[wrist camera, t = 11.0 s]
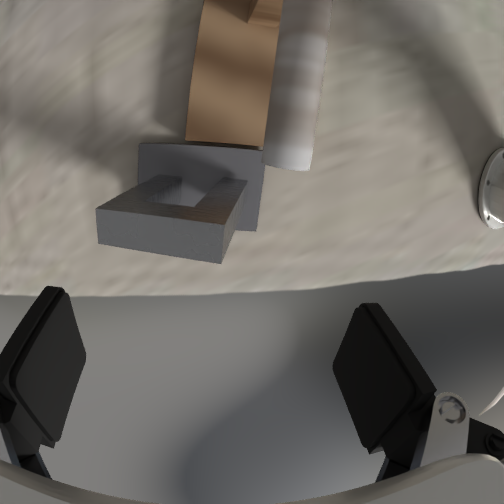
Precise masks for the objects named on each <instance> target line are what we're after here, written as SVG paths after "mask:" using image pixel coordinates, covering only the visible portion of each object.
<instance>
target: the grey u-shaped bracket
mask: <svg viewBox="0 0 504 504" xmlns="http://www.w3.org/2000/svg"><path fill="white" fill-rule="evenodd" d="M247 187H248V180H241V179H233V178H225V177H223V178H222V179H221V180H220V181H219V182H218V183H217V184H216V185H215V186H214V187H213V188H212V189H211V190H210V191H209V192H208V193H207V194H206V195H205V196H204V197H203V198H202V199H201V200H200V201H199V202H198V203H197V204H196V205H195V207H191V206H183V205H178V204H179V203H180V202H181V193H182V177H180V176H170V175H156V176H155V177H153V178H151V179H149V180H147V181H145V182H143V183H141V184H139V185H137V186H135V187H133V188H131V189H129V190H128V191H126V192H124V193H122V194H120V195H118V196H117V197H115V198H113V199H111V200H110V201H108V202H106V203H104V204H103V205H101V206H99V207H97V208H96V222H97V233H98V243H99V244H104V245H109V246H115V247H121V248H127V249H132V250H138V251H144V252H150V253H156V254H162V255H168V256H174V257H180V258H187V259H193V260H199V261H205V262H212V263H218V264H221V263H222V261H223V258H224V256H225V253H226V251H227V248H228V246H229V243H230V241H231V238H232V236H233V234H234V231H235V229H236V226H237V224H238V221H239V219H240V216H241V214H242V212H243V209H244V207H245V203H246V195H247Z"/></svg>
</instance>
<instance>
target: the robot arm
mask: <svg viewBox="0 0 504 504" xmlns="http://www.w3.org/2000/svg"><path fill="white" fill-rule="evenodd" d="M478 203H479V212H480V216H481V219H482V220H483V222H484V223H485V224H486V225H487V226H488V227H490V228H491V229H500V228H502V227H503V226H504V148H500V149H498V150H496V151H495V152H494V153H493V154H492V155H491V157H490V158H489V160H488V162H487V164H486V166H485V168H484V171H483V173H482V177H481V181H480V187H479V196H478ZM85 362H86V352H85V348H84V346H83V343H82V339H81V336H80V333H79V330H78V326H77V323H76V320H75V316H74V313H73V309H72V305H71V301H70V297H69V295H68V293H65V290H64V289H63V288H61V287H53V286H46V287H45V288H44V290H43V291H42V292H41V294H40V295H39V296H38V298H37V299H36V301H35V302H34V303H33V305H32V306H31V308H30V309H29V310H28V312H27V314H26V315H25V316H24V318H23V319H22V321H21V322H20V324H19V325H18V327H17V328H16V330H15V331H14V333H13V334H12V336H11V338H10V339H9V341H8V343H7V344H6V346H5V347H4V349H3V351H2V352H1V354H0V504H157V503H149V502H141V501H136V500H130V499H124V498H119V497H114V496H109V495H105V494H100V493H96V492H92V491H88V490H85V489H81V488H77V487H74V486H71V485H68V484H64V483H61V482H58V481H55V480H52V478H51V476H50V474H49V472H48V470H47V468H46V466H45V464H44V462H43V460H42V457H41V455H40V453H39V447H40V444H42V445H45V446H48V447H51V448H54V446H55V442H57V441H59V440H60V438H61V435H62V431H63V428H64V424H65V421H66V418H67V414H68V411H69V407H70V405H71V402H72V398H73V395H74V393H75V390H76V387H77V384H78V381H79V378H80V375H81V372H82V370H83V367H84V365H85ZM333 372H334V375H335V377H336V379H337V382H338V385H339V387H340V390H341V392H342V395H343V397H344V400H345V402H346V405H347V407H348V410H349V412H350V415H351V418H352V420H353V422H354V425H355V428H356V430H357V433H358V436H359V438H360V441H361V443H362V445H363V447H365V448H367V450H368V452H369V454H373V453H376V452H379V451H383V450H384V452H385V455H386V456H385V459H384V462H383V465H382V467H381V469H380V471H379V474H378V476H377V479H376V481H375V483H373V484H369V485H366V486H363V487H359V488H356V489H352V490H348V491H344V492H340V493H336V494H331V495H327V496H322V497H317V498H311V499H306V500H299V501H294V502H285V503H278V504H504V434H503V433H502V432H501V431H500V430H498V429H496V428H494V427H492V426H489V425H486V424H484V423H482V422H479V421H477V420H474V419H472V418H470V417H469V416H470V415H469V409H468V406H467V405H466V403H465V402H464V400H463V399H462V398H460V397H459V396H458V395H456V394H454V393H450V392H445V393H442V394H439V395H438V396H437V397H435V396H434V393H435V392H436V390H437V389H436V388H435V386H434V385H433V383H432V381H431V380H430V378H429V376H428V375H427V374H426V372H425V370H424V369H423V367H422V366H421V364H420V363H419V361H418V359H417V358H416V357H415V355H414V353H413V352H412V350H411V349H410V348H409V346H408V345H407V343H406V342H405V340H404V339H403V337H402V336H401V334H400V333H399V331H398V330H397V329H396V327H395V326H394V324H393V323H392V321H391V320H390V319H389V317H388V316H387V314H386V313H385V312H384V311H383V309H382V307H381V306H380V305H379V304H378V303H362V304H361V305H360V306H359V307H358V308H356V309H355V311H354V313H353V316H352V319H351V321H350V323H349V326H348V328H347V331H346V333H345V336H344V338H343V341H342V343H341V345H340V348H339V350H338V352H337V355H336V357H335V359H334V362H333Z"/></svg>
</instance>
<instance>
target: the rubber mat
mask: <svg viewBox="0 0 504 504" xmlns="http://www.w3.org/2000/svg"><path fill="white" fill-rule="evenodd" d="M262 152H263V150H255V149H245V148H234V147H222V146H208V145H190V144H162V143H140V144H139V160H138V185H139V184H141V183H143V182H145V181H147V180H149V179H151V178H153V177H155V176H156V175H170V176H180V177H182V193H181V202H180V203H179V204H178V205H183V206H191V207H195V205H196V204H197V203H198V202H199V201H200V200H201V199H202V198H203V197H204V196H205V195H206V194H207V193H208V192H209V191H210V190H211V189H212V188H213V187H214V186H215V185H216V184H217V183H218V182H219V181H220V180H221V179H222V178H223V177H225V178H233V179H241V180H248V187H247V195H246V203H245V207H244V209H243V212H242V214H241V216H240V219H239V221H238V224H237V226H236V229H235V230H241V231H256V229H257V221H258V214H259V207H260V200H261V192H262V185H263V178H264V171H265V164H263V163H261V159H262Z"/></svg>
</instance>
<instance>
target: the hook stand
mask: <svg viewBox="0 0 504 504" xmlns="http://www.w3.org/2000/svg"><path fill="white" fill-rule="evenodd" d="M331 9H332V0H204V4H203V10H202V15H201V21H200V26H199V32H198V38H197V44H196V51H195V58H194V65H193V72H192V79H191V87H190V96H189V105H188V114H187V124H186V135H185V140H187V141H205V142H220V143H232V144H243V145H253V146H262V147H263V152H262V159H261V163H263V164H265V165H269V166H273V167H277V168H282V169H288V170H297V171H308V170H310V164H311V158H312V152H313V146H314V140H315V133H316V127H317V120H318V114H319V107H320V100H321V93H322V86H323V78H324V71H325V63H326V55H327V46H328V38H329V28H330V19H331Z"/></svg>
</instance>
